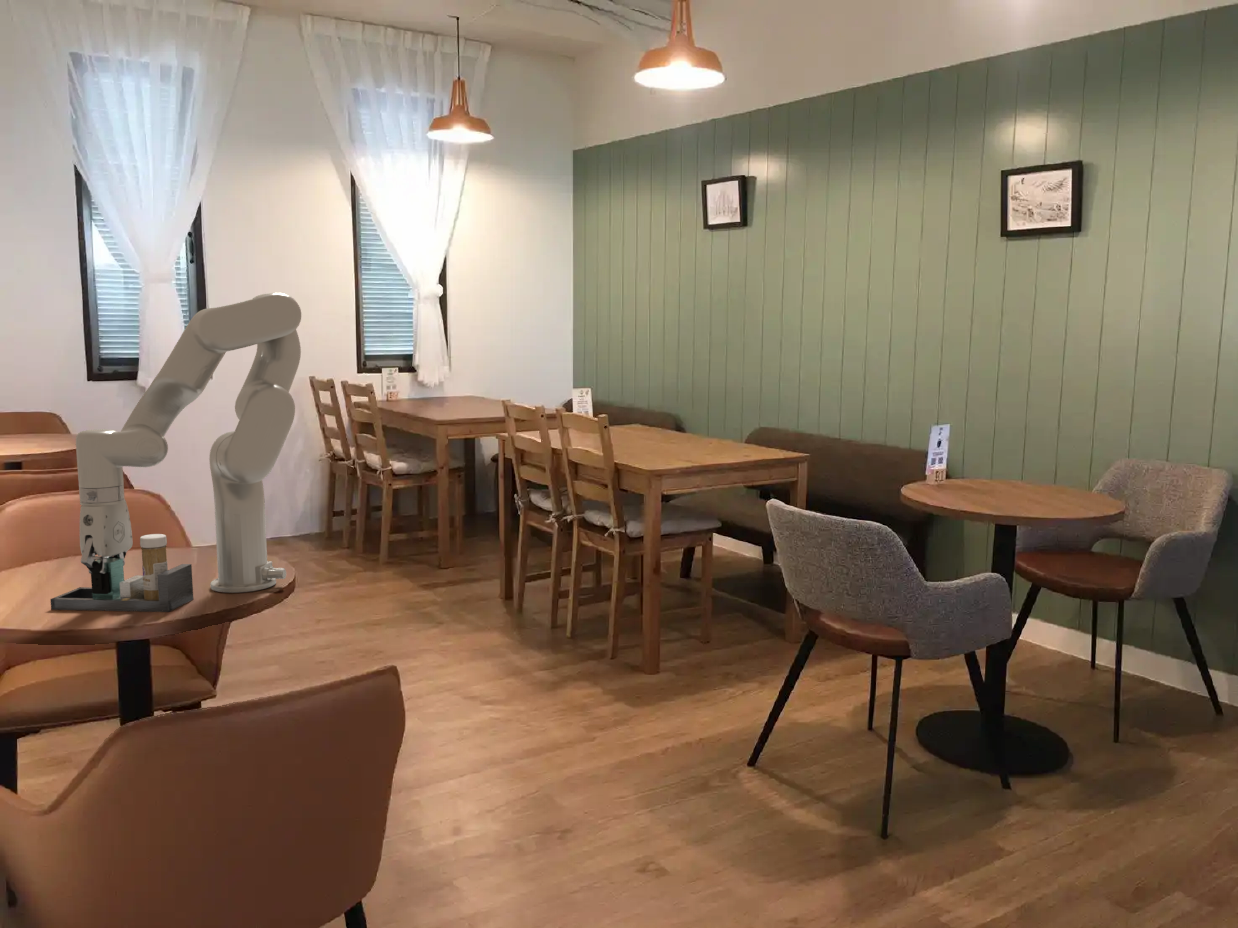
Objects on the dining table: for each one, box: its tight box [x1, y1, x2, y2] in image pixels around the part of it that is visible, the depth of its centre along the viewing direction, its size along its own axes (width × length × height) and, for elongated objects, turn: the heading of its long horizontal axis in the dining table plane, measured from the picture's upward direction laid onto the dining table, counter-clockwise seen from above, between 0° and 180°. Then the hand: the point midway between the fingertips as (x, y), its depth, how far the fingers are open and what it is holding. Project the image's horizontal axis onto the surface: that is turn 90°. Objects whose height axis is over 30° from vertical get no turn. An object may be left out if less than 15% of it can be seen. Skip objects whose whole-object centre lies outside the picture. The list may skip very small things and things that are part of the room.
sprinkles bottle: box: [139, 533, 169, 600], centre depth 190 cm, size 5×5×13 cm
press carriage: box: [92, 558, 144, 600], centre depth 191 cm, size 8×6×8 cm
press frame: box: [49, 563, 194, 613], centre depth 191 cm, size 23×9×7 cm, turn 85°
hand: (108, 589), depth 192 cm, fingers closed on press carriage, 4 cm apart
